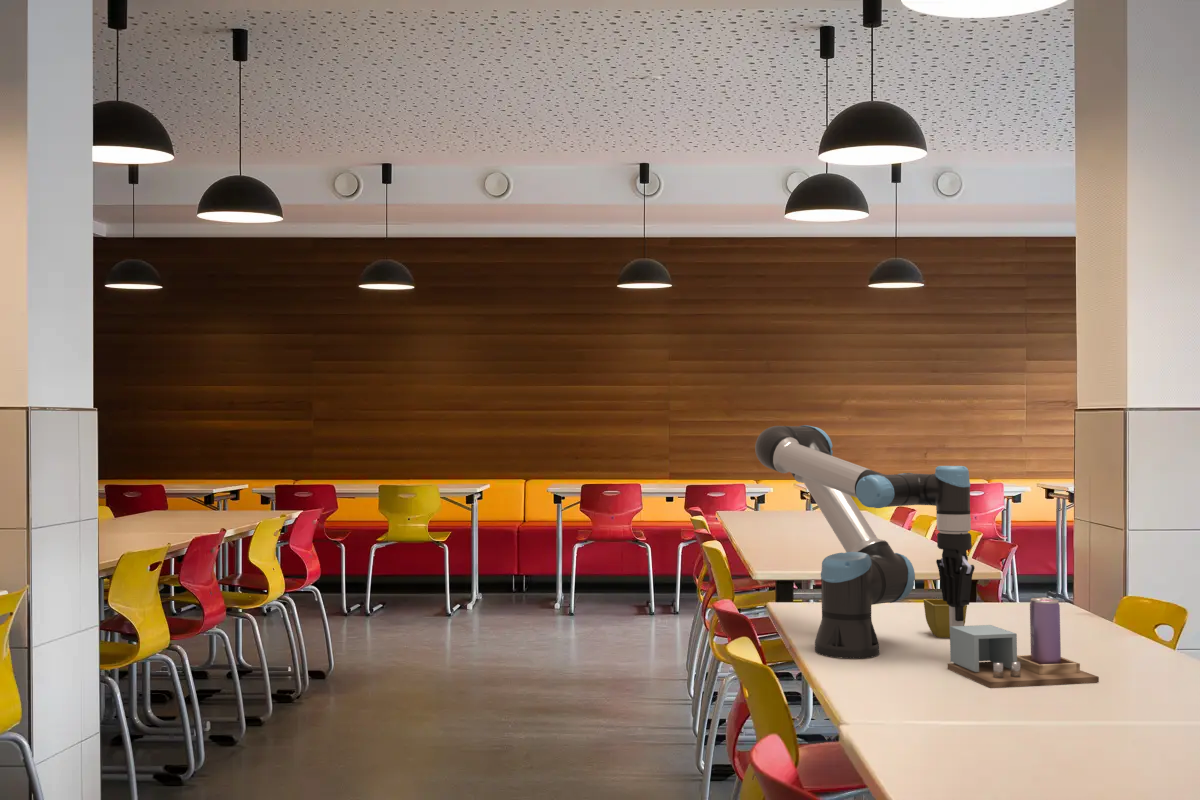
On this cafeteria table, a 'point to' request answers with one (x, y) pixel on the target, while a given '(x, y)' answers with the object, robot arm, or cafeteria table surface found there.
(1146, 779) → the cafeteria table surface
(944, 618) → the flower pot
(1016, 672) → the stubs
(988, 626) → the housing
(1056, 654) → the beverage can
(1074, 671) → the base board
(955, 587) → the robot arm
